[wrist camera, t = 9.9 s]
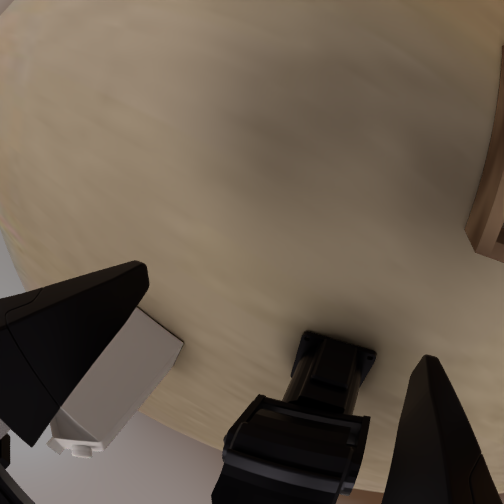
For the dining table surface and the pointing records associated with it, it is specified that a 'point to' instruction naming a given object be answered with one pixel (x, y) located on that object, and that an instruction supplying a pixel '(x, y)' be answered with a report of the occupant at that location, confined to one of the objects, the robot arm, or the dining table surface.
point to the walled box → (491, 192)
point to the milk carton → (114, 387)
